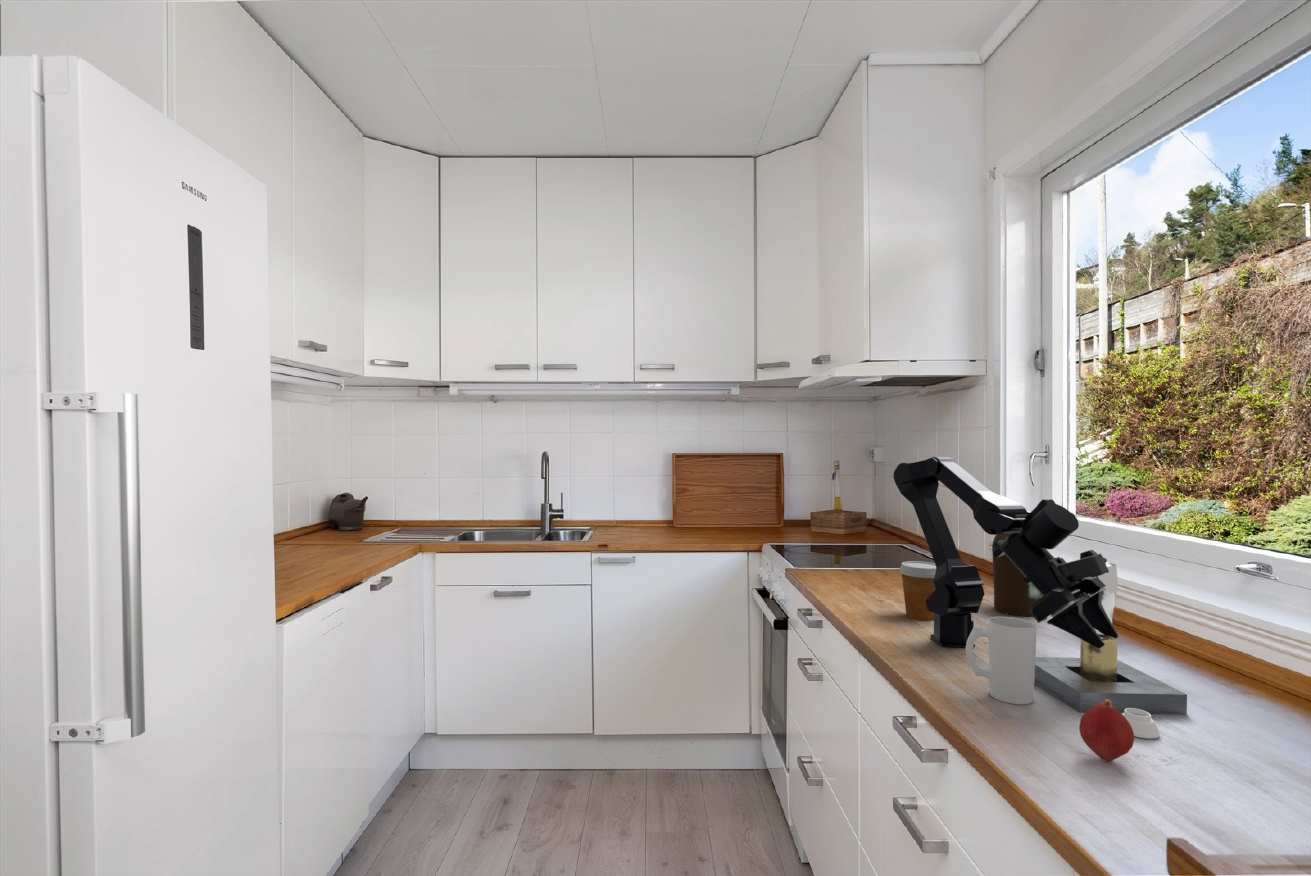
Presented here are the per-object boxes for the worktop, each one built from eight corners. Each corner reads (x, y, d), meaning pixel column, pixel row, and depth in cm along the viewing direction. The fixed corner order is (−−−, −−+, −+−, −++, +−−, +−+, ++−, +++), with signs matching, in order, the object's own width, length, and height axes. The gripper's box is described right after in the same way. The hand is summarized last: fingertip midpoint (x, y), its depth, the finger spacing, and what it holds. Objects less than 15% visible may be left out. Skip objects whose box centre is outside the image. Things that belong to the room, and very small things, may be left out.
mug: (1030, 692, 107) (1031, 618, 107) (1040, 708, 101) (1041, 630, 101) (962, 684, 111) (963, 612, 110) (968, 699, 104) (969, 623, 104)
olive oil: (984, 610, 157) (986, 506, 157) (1000, 603, 165) (1001, 503, 165) (1033, 620, 150) (1035, 510, 150) (1047, 611, 157) (1049, 507, 157)
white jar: (1160, 732, 94) (1117, 722, 97) (1160, 711, 94) (1117, 702, 97) (1158, 744, 90) (1114, 734, 93) (1158, 723, 90) (1114, 713, 93)
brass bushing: (1092, 698, 105) (1093, 641, 105) (1073, 686, 110) (1073, 632, 110) (1124, 698, 105) (1124, 642, 105) (1103, 687, 110) (1104, 632, 110)
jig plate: (1079, 712, 100) (1079, 692, 100) (1022, 673, 116) (1022, 656, 116) (1186, 714, 99) (1187, 694, 99) (1114, 675, 115) (1114, 658, 115)
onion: (1068, 750, 87) (1069, 690, 87) (1109, 749, 88) (1110, 689, 88) (1101, 773, 82) (1102, 708, 82) (1145, 771, 82) (1146, 707, 82)
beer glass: (1123, 639, 136) (1124, 567, 136) (1085, 637, 137) (1086, 565, 137) (1107, 630, 143) (1108, 561, 143) (1071, 627, 144) (1072, 559, 144)
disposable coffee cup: (889, 613, 154) (890, 562, 154) (919, 609, 158) (920, 559, 158) (921, 624, 145) (922, 570, 145) (952, 619, 149) (953, 567, 149)
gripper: (1052, 540, 104) (1134, 625, 96) (1092, 530, 116) (1168, 605, 108) (1000, 580, 110) (1073, 664, 102) (1043, 567, 122) (1111, 641, 114)
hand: (1109, 642), depth 106 cm, fingers open, 7 cm apart
